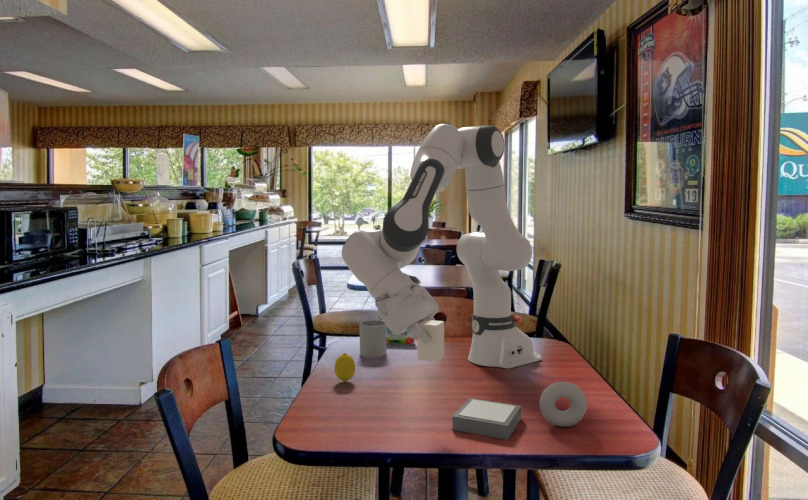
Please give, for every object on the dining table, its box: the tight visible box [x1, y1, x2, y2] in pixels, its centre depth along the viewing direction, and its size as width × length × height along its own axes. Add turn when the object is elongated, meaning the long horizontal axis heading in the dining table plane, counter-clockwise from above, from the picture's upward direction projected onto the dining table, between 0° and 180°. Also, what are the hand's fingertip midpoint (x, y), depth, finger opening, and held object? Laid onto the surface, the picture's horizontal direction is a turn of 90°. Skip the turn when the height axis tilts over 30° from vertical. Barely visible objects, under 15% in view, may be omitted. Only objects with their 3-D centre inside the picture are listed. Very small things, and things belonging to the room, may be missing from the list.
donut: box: [539, 381, 588, 428], centre depth 121 cm, size 10×4×10 cm, turn 85°
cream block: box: [417, 319, 445, 362], centre depth 124 cm, size 4×4×8 cm
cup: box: [359, 319, 387, 359], centre depth 177 cm, size 8×8×10 cm
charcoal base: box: [451, 397, 522, 441], centre depth 123 cm, size 12×12×3 cm
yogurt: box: [386, 325, 416, 346], centre depth 190 cm, size 12×2×6 cm, turn 81°
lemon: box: [334, 352, 356, 383], centre depth 150 cm, size 6×6×8 cm
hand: (433, 337), depth 124 cm, fingers closed on cream block, 4 cm apart
